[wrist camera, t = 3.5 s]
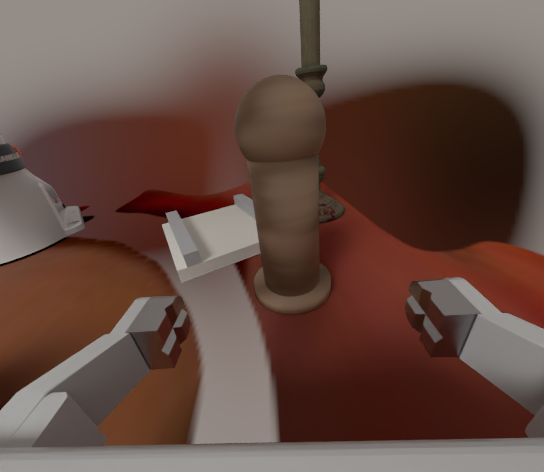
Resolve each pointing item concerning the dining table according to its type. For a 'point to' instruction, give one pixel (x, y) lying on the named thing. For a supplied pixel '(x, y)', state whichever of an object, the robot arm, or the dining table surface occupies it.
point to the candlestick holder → (315, 87)
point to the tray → (212, 238)
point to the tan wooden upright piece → (285, 190)
